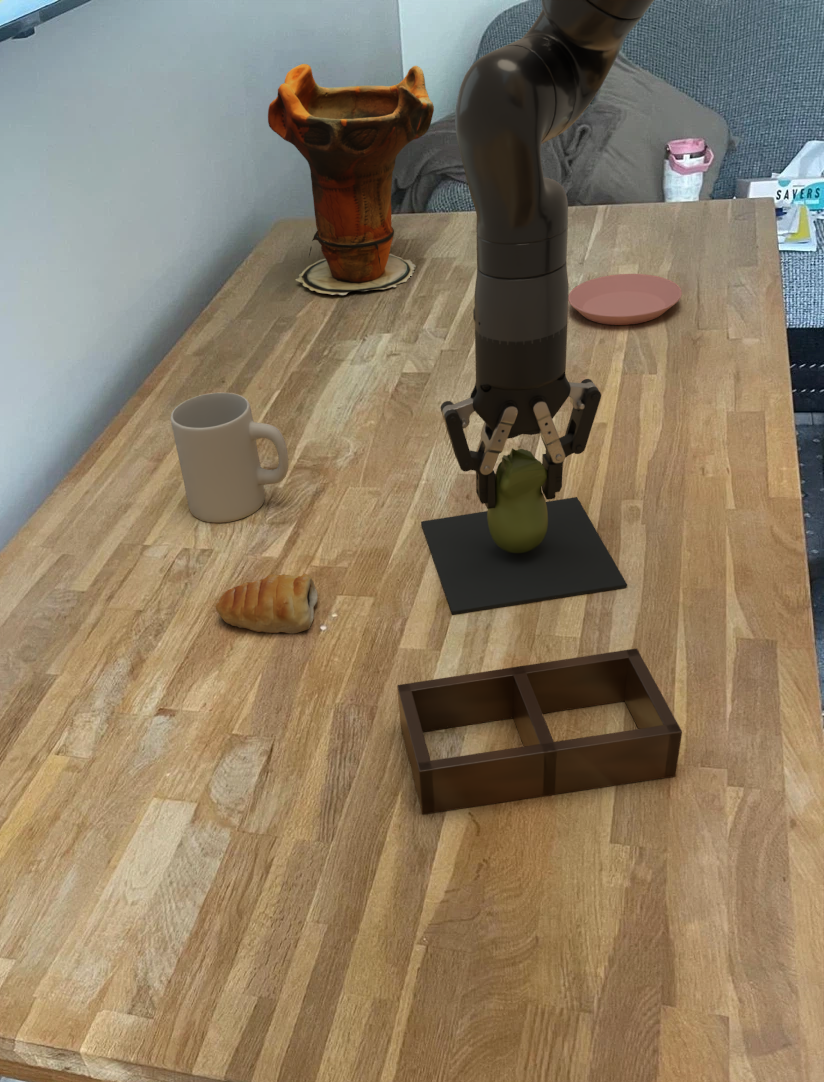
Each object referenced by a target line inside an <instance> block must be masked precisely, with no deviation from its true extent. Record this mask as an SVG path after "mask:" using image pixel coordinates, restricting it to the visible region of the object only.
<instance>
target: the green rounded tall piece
mask: <svg viewBox="0 0 824 1082" xmlns="http://www.w3.org/2000/svg"><path fill="white" fill-rule="evenodd" d="M546 479H547V470H546V468H545V467H544V466H543V465H542V461H540V460H538V459H537V458H536V457H535V455H534V454H533V453H532V451H530V450H528V449H524V448H519V449H515V448H513V447H512V448H511V451H510V453H509V454H507V455H506V454H504V455H502V456H501V461H500V463H498V465H497V468H496V470H495V508H490V509H487V510H486V511H487V520H488V526H489V531H490V534H491V536H492V538H493V540H494V542H495V543H496V544H497V545H498V546H499V547H500V548H501V549H503V550H505V551H507V552H510V553H525V552H528V551H530V550H532V549H534V548H536V547H537V546H538V545H539V544H540V543H541V542H542V541H543V539H544V537H545V535H546V532H547V528H548V512H547V505H546V502H547V501H546V497H545V495H544V494H543V491H542V485H543V484H544V482H545V481H546Z"/></svg>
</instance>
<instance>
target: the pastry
mask: <svg viewBox="0 0 824 1082" xmlns="http://www.w3.org/2000/svg"><path fill="white" fill-rule="evenodd" d="M318 597H319V594H318V590H317V588H316V585H315V581H314V580H313V578H312V577H311V576H310V575H309V574H307V573H303V574H302V575H290V574H275V573H274V574H273V573H272V574H269V575H267V576H266V577H264V578H262V579H257V580H255V581H252V582H251V581H248V582H247V581H246V582H243V583H241V584H240V585H236V586H234V587H232V588H229V589H227V590H226V591H225V592H224V593H223V594H222V595H221V597H220V598H219V600H218V602H217V603H216V604H215V610H216V612H217V614H218V615H219V616H220V618H221V619H222V620H223V621H224V622H225V623H226V624H229V625H231V626H232V627H238V628H239V629H247V630H250V631H252V632H257V633H261V632H263V633H267V634H268V633H269V634H272V633H273V634H279V633H285V634H298V633H301V632H305V631H307V630H309V629H310V628H311V626H312V624H313V620H314V618H315V616H314V614H315V612H314V611H315V610H314V607H315V606H316V605H317V603H318Z"/></svg>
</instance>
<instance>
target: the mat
mask: <svg viewBox="0 0 824 1082" xmlns="http://www.w3.org/2000/svg"><path fill="white" fill-rule="evenodd" d="M546 505H547V512H548V528H547V532H546V535H545V537H544V539H543V541H542V542H541V543H540V544H539V545H538V546H537V547H536V548H534V549H532V550H530V551H528V552H525V553H510V552H507V551H505V550H503V549H501V548H500V547H499V546H498V545H497V544H496V543H495V542H494V540H493V538H492V536H491V534H490V531H489V526H488V520H487V511H488V510H485V511H479V512H471V513H467V514H461V515H460V514H459V515H454V516H447V517H440V518H435V519H429V520H423V521H420V525H421V529H422V531H423V534H424V538H425V540H426V543H427V545H428V548H429V551H430V554H431V557H432V560H433V563H434V567H435V569H436V572H437V575H438V579H439V581H440V584H441V587H442V589H443V593H444V595H445V598H446V601H447V604H448V607H449V609H450V613H451V615H459V614H465V613H470V612H471V613H472V612H479V611H485V610H491V609H497V608H503V607H504V608H505V607H510V606H511V607H512V606H515V605H516V606H517V605H522V604H523V605H524V604H529V603H531V604H532V603H537V602H543V601H549V600H556V599H562V598H568V597H575V596H582V595H588V594H593V593H600V592H607V591H613V590H621V589H626V588H628V582H626V580H625V578H624V577H623V575H622V573H621V571H620V570H619V568H618V566H617V564H616V562H615V560H614V559H613V557H612V555H611V554H610V551H609V550H608V548H607V546H606V545H605V543H604V541H603V540H602V538H601V536H600V534H599V533H598V531H597V529H596V528H595V526H594V524H593V523H592V520H591V519H590V517H589V515H588V513H587V512H586V510H585V507H583V505H582V503H581V501H580V500H579V498H578V497H577V496H574V497H568V498H567V497H566V498H561V499H553V500H547V501H546Z"/></svg>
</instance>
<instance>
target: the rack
mask: <svg viewBox="0 0 824 1082" xmlns="http://www.w3.org/2000/svg"><path fill="white" fill-rule="evenodd" d="M396 686H397V698H398V699H397V700H398V710H399V723H400V730H401V735H402V738H403V742H404V746H405V750H406V754H407V758H408V759H407V760H408V762H409V766H410V770H411V775H412V778H413V783H414V787H415V791H416V795H417V799H418V802H419V808H420V812H421V815H428V814H434V813H439V812H440V813H441V812H447V811H453V810H460V809H466V808H473V807H478V806H486V805H492V804H493V805H494V804H498V803H506V802H512V801H519V800H525V799H533V798H538V797H545V796H547V797H548V796H554V795H558V794H565V793H571V792H579V791H586V790H591V789H597V788H604V787H612V786H618V785H626V784H632V783H637V782H645V781H651V780H658V779H665V778H671V777H676V776H677V769H678V761H679V755H680V750H681V741H682V736H683V735H682V734H683V731H682V728H681V727H680V725H679V723H678V721H677V720H676V718H675V716H674V714H673V712H672V710H671V709H670V707H669V705H668V702H667V701H666V699H665V698H664V695H663V694H662V692H661V690H660V688H659V686H658V684H657V683H656V681H655V679H654V677H653V675H652V674H651V672H650V670H649V668H648V666H647V665H646V662H645V661H644V659H643V657H642V655H641V653H640V651H639V649H638V648H631V649H630V648H629V649H623V650H616V651H611V652H605V653H604V652H603V653H597V654H590V655H585V656H583V655H582V656H578V657H571V658H564V659H558V660H552V661H551V660H550V661H545V662H539V663H532V664H531V663H530V664H526V665H520V666H519V665H518V666H512V667H507V668H500V669H494V670H493V669H492V670H487V671H479V672H474V673H468V674H461V675H455V676H447V677H441V678H433V679H429V680H421V681H415V682H408V683H401V684H397V685H396ZM620 702H624V703H625V705H626V706H627V708H628V711H629V713H630V715H631V717H632V718H633V721H634V723H635V725H636V726H637V728H636V729H630V730H624V731H617V732H611V733H604V734H598V735H591V736H584V737H577V738H570V739H565V740H564V739H563V740H557V741H554V739H553V736H552V734H551V732H550V729H549V727H548V724H547V722H546V719H545V717H544V714H549V713H554V712H562V711H567V710H575V709H581V708H587V707H594V706H599V705H600V706H602V705H609V704H613V703H620ZM508 719H513V722H514V724H515V727H516V729H517V732H518V735H519V737H520V740H521V743H522V745H523V746H519V747H518V746H517V747H512V748H511V747H510V748H505V749H504V748H503V749H498V750H491V751H485V752H478V753H472V754H466V755H459V756H452V757H446V758H440V759H439V758H438V759H433V760H431V758H430V754H429V750H428V746H427V742H426V739H425V735H424V732H430V731H437V730H445V729H448V728H449V729H450V728H456V727H462V726H469V725H470V726H471V725H476V724H482V723H489V722H497V721H502V720H503V721H504V720H508Z"/></svg>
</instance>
